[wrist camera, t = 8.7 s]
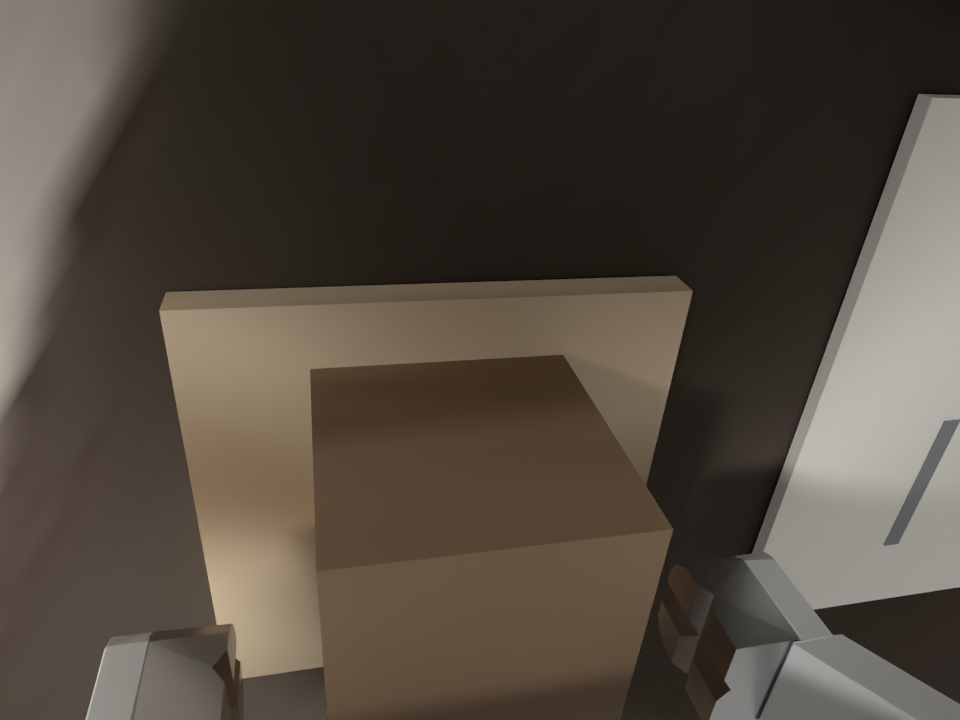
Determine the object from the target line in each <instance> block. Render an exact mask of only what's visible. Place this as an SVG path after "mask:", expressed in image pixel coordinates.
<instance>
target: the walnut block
mask: <svg viewBox="0 0 960 720" xmlns="http://www.w3.org/2000/svg"><path fill="white" fill-rule="evenodd" d="M310 386H311V417H312V448H313V479H314V510H315V541H316V572H317V585H318V599H319V613H320V626H321V640H322V654H323V668H324V681H325V695H326V709H327V720H621V716H622V713H623V709H624V705H625V702H626V698H627V694H628V691H629V687H630V684H631V680H632V676H633V673H634V669H635V666H636V662H637V658H638V655H639V651H640V648H641V644H642V640H643V637H644V633H645V630H646V626H647V622H648V619H649V615H650V612H651V608H652V604H653V601H654V597H655V594H656V590H657V586H658V583H659V579H660V575H661V572H662V568H663V565H664V561H665V557H666V554H667V550H668V547H669V543H670V539H671V536H672V532H673V528H672V526H671V525H670V523H669V522H668V520H667V518H666V517H665V515H664V514H663V512H662V511H661V509H660V507H659V506H658V504H657V503H656V501H655V499H654V498H653V496H652V495H651V493H650V491H649V490H648V488H647V487H646V485H645V484H644V482H643V480H642V479H641V477H640V476H639V474H638V472H637V471H636V469H635V468H634V466H633V465H632V463H631V461H630V460H629V458H628V457H627V455H626V453H625V452H624V450H623V449H622V447H621V445H620V444H619V442H618V441H617V439H616V438H615V436H614V434H613V433H612V431H611V430H610V428H609V426H608V425H607V423H606V422H605V420H604V418H603V417H602V415H601V414H600V412H599V411H598V409H597V407H596V406H595V404H594V403H593V401H592V399H591V398H590V396H589V395H588V393H587V392H586V390H585V388H584V387H583V385H582V384H581V382H580V380H579V379H578V377H577V376H576V374H575V372H574V371H573V369H572V368H571V366H570V365H569V363H568V361H567V360H566V358H565V357H564V355H548V356H531V357H513V358H496V359H478V360H460V361H443V362H425V363H408V364H390V365H372V366H355V367H337V368H320V369H310Z"/></svg>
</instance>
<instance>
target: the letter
mask: <svg viewBox="0 0 960 720" xmlns="http://www.w3.org/2000/svg"><path fill="white" fill-rule="evenodd" d="M760 552H766V553H767V554H769V555H770V556H772V557H773V558H774V559H775V561H776V562H777V563H778V565H779V566H780V567H781V568H782V570H783V571H784V572H785V574H786V575H787V576H788V578H789V579H790V580H791V581H792V583H793V584H794V585H795V587H796V588H797V589H798V591H799V592H800V593H801V594H802V596H803V597H804V598H805V600H806V601H807V602H808V603H809V605H810V606H811V607H812V609H813V610H814V609H821V608H827V607H834V606H840V605H847V604H853V603H860V602H866V601H873V600H879V599H886V598H892V597H899V596H905V595H912V594H918V593H925V592H931V591H938V590H944V589H951V588H958V587H960V95H939V94H918V96H917V99H916V102H915V104H914V107H913V110H912V113H911V115H910V118H909V121H908V124H907V126H906V129H905V132H904V135H903V137H902V140H901V143H900V146H899V148H898V151H897V154H896V157H895V159H894V162H893V165H892V168H891V171H890V173H889V176H888V179H887V182H886V184H885V187H884V190H883V193H882V195H881V198H880V201H879V204H878V206H877V209H876V212H875V215H874V217H873V220H872V223H871V226H870V229H869V231H868V234H867V237H866V240H865V242H864V245H863V248H862V251H861V253H860V256H859V259H858V262H857V264H856V267H855V270H854V273H853V275H852V278H851V281H850V284H849V287H848V289H847V292H846V295H845V298H844V300H843V303H842V306H841V309H840V311H839V314H838V317H837V320H836V322H835V325H834V328H833V331H832V333H831V336H830V339H829V342H828V345H827V347H826V350H825V353H824V356H823V358H822V361H821V364H820V367H819V369H818V372H817V375H816V378H815V380H814V383H813V386H812V389H811V391H810V394H809V397H808V400H807V403H806V405H805V408H804V411H803V414H802V416H801V419H800V422H799V425H798V427H797V430H796V433H795V436H794V438H793V441H792V444H791V447H790V449H789V452H788V455H787V458H786V461H785V463H784V466H783V469H782V472H781V474H780V477H779V480H778V483H777V485H776V488H775V491H774V494H773V496H772V499H771V502H770V505H769V507H768V510H767V513H766V516H765V518H764V521H763V524H762V527H761V530H760V532H759V535H758V538H757V541H756V543H755V546H754V549H753V552H752V554H753V553H760Z"/></svg>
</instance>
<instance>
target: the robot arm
mask: <svg viewBox="0 0 960 720" xmlns="http://www.w3.org/2000/svg"><path fill="white" fill-rule="evenodd" d="M667 582H668V583H669V585H670V587H671V589H672V591H671V592H670V593H669V594H668V595H667V596H666V597H665V598H664V599H663V600H662V601H661V605H660V610H659V614H658V622H659V632H660V637H661V640H662V643H663V646H664V649H665V651H666V653H667V655H668V657H669V659H670V661H671V663H673V664H674V665H676V666H677V667H678V668H680V669H681V670H683V671H684V672H685V673H687V678H686V684H685V690H686V692H687V694H688V696H689V698H690V700H691V702H692V703H693V705H694V707H695V709H696V711H697V713H698V715H699V717H700V719H701V720H960V704H959V703H957V702H955V701H954V700H952V699H950V698H948V697H947V696H945V695H943V694H942V693H940V692H938V691H937V690H935V689H933V688H932V687H930V686H928V685H926V684H925V683H923V682H921V681H920V680H918V679H916V678H915V677H913V676H911V675H910V674H908V673H906V672H905V671H903V670H901V669H899V668H898V667H896V666H894V665H893V664H891V663H889V662H888V661H886V660H884V659H883V658H881V657H879V656H877V655H876V654H874V653H872V652H871V651H869V650H867V649H866V648H864V647H862V646H861V645H859V644H857V643H856V642H854V641H852V640H850V639H849V638H847V637H845V636H844V635H842V634H840V635H832V633H831V632H830V631H829V629H828V628H827V627H826V626H825V624H824V623H823V622H822V620H821V619H820V618H819V616H818V615H817V614H816V613H815V611H814V610H813V609H812V607H811V606H810V605H809V603H808V602H807V601H806V600H805V598H804V597H803V596H802V594H801V593H800V592H799V591H798V589H797V588H796V587H795V585H794V584H793V583H792V581H791V580H790V579H789V578H788V576H787V575H786V574H785V572H784V571H783V570H782V568H781V567H780V566H779V565H778V563H777V562H776V561H775V559H774V558H773V557H772V556H770V555H769V554H767V553H766V552H760V553H753V554H745V555H737V556H726V557H719V558H712V559H705V560H698V561H692V562H685V563H678V564H676V565H675V566H674V567H673V568H672V569H671V570H670V574H669V577H668V580H667ZM236 644H237V639H236V634H235V629H234V624H223V625H214V626H204V627H195V628H185V629H176V630H167V631H157V632H150V633H142V634H133V635H125V636H116V637H111V639H110V641H109V643H108V644H107V646H106V648H105V649H104V653H103V657H102V660H101V664H100V668H99V671H98V675H97V679H96V683H95V686H94V690H93V694H92V698H91V701H90V705H89V709H88V713H87V716H86V720H243V678H242V669H241V662H240V661H239V660H237V659H236Z"/></svg>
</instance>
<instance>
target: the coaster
mask: <svg viewBox="0 0 960 720" xmlns="http://www.w3.org/2000/svg"><path fill="white" fill-rule="evenodd" d="M692 292H693V291H692V290H691V289H690V288H689V287H688V286H687V285H686V284H685V283H684V282H683V281H681V280H680V279H679V278H678V277H677V276H649V277H618V278H587V279H556V280H525V281H493V282H462V283H431V284H400V285H369V286H337V287H306V288H275V289H244V290H212V291H181V292H166V293H165V296H164V299H163V301H162V304H161V307H160V310H159V313H160V318H161V324H162V329H163V335H164V340H165V345H166V351H167V356H168V362H169V367H170V373H171V378H172V383H173V389H174V394H175V400H176V405H177V410H178V416H179V421H180V427H181V432H182V438H183V443H184V448H185V454H186V459H187V465H188V470H189V476H190V481H191V486H192V492H193V497H194V503H195V508H196V514H197V519H198V524H199V530H200V535H201V541H202V546H203V552H204V557H205V562H206V568H207V573H208V579H209V584H210V590H211V595H212V600H213V606H214V611H215V617H216V622H217V625H223V624H234V629H235V634H236V639H237V644H236V659H237V660H239V661H240V662H241V669H242V678H243V679H244V678H250V677H257V676H264V675H271V674H277V673H284V672H291V671H298V670H304V669H311V668H318V667H323V654H322V640H321V626H320V613H319V599H318V585H317V572H316V541H315V510H314V479H313V448H312V417H311V386H310V369H320V368H337V367H355V366H372V365H390V364H408V363H425V362H443V361H460V360H478V359H496V358H513V357H531V356H548V355H564V357H565V358H566V360H567V361H568V363H569V365H570V366H571V368H572V369H573V371H574V372H575V374H576V376H577V377H578V379H579V380H580V382H581V384H582V385H583V387H584V388H585V390H586V392H587V393H588V395H589V396H590V398H591V399H592V401H593V403H594V404H595V406H596V407H597V409H598V411H599V412H600V414H601V415H602V417H603V418H604V420H605V422H606V423H607V425H608V426H609V428H610V430H611V431H612V433H613V434H614V436H615V438H616V439H617V441H618V442H619V444H620V445H621V447H622V449H623V450H624V452H625V453H626V455H627V457H628V458H629V460H630V461H631V463H632V465H633V466H634V468H635V469H636V471H637V472H638V474H639V476H640V477H641V479H642V480H643V482H644V484H645V485H646V484H647V480H648V475H649V471H650V467H651V463H652V459H653V455H654V451H655V446H656V442H657V438H658V434H659V430H660V426H661V421H662V417H663V413H664V409H665V405H666V401H667V396H668V392H669V388H670V384H671V380H672V376H673V371H674V367H675V363H676V359H677V355H678V351H679V347H680V342H681V338H682V334H683V330H684V326H685V322H686V317H687V313H688V309H689V305H690V301H691V297H692Z"/></svg>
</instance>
